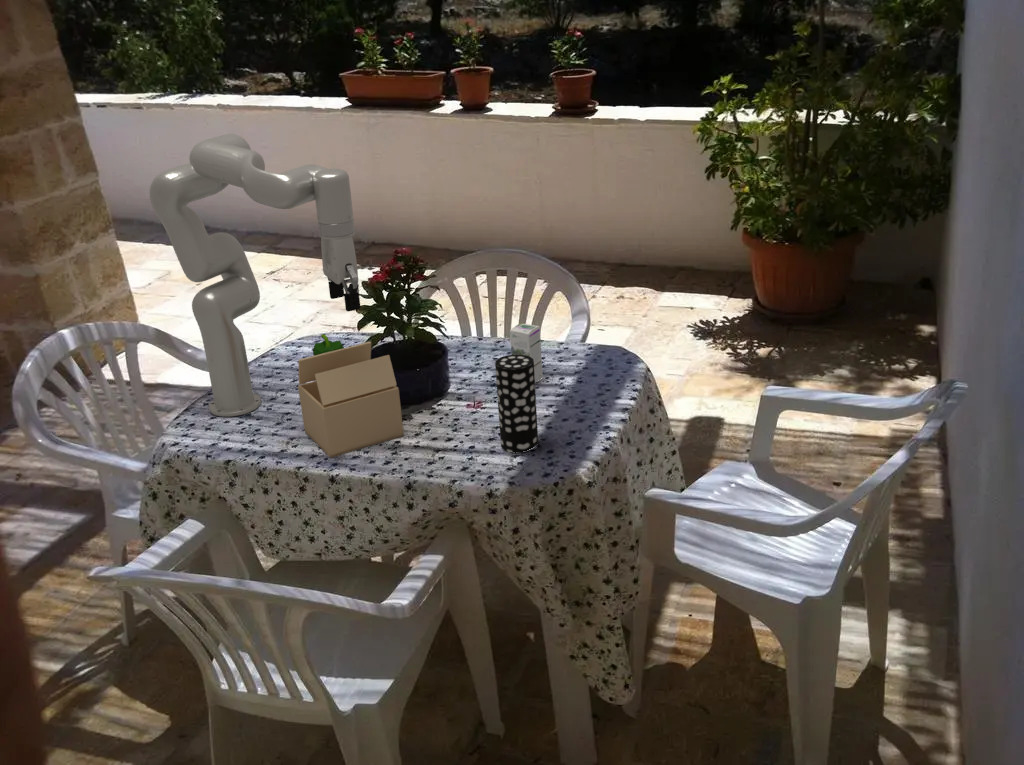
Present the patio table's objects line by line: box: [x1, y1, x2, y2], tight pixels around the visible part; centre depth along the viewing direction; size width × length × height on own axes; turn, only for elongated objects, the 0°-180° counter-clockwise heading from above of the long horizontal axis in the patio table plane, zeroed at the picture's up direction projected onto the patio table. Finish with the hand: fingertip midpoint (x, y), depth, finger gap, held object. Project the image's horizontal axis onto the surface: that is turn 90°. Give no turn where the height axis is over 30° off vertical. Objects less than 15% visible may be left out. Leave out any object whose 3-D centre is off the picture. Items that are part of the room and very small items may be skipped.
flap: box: [297, 341, 372, 385], centre depth 241 cm, size 7×18×1 cm
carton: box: [297, 380, 405, 459], centre depth 240 cm, size 16×18×12 cm
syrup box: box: [509, 322, 544, 382], centre depth 262 cm, size 6×6×14 cm
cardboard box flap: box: [315, 354, 397, 405], centre depth 231 cm, size 7×18×1 cm
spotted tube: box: [494, 354, 539, 454], centre depth 229 cm, size 8×8×20 cm
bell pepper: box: [312, 333, 345, 356], centre depth 276 cm, size 8×8×10 cm
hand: (345, 303), depth 231 cm, fingers open, 9 cm apart
